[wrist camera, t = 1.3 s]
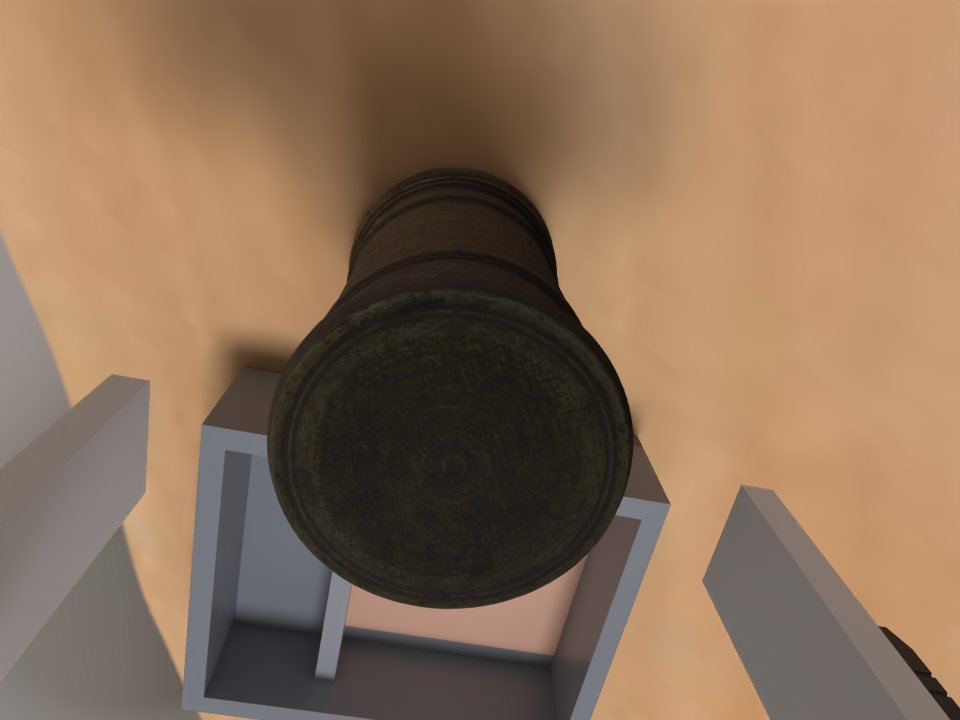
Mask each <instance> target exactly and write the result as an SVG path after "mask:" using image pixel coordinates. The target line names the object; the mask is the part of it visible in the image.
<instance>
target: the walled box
mask: <svg viewBox="0 0 960 720" xmlns="http://www.w3.org/2000/svg"><path fill="white" fill-rule="evenodd" d="M281 374H282V373H276V372H271V371H265V370H260V369H254V368H249V367H244V368H243V369H242V371H241V372H240V373H239V375H238V376H237V377H236V379H235V380H234V381H233V383H232V384H231V386H230V387H229V388H228V390H227V391H226V392H225V394H224V395H223V396H222V398H221V399H220V401H219V402H218V403H217V405H216V406H215V407H214V409H213V410H212V411H211V413H210V414H209V416H208V417H207V418H206V420H205V421H204V422H203V424H202V430H201V444H200V458H199V472H198V486H197V500H196V514H195V528H194V542H193V556H192V570H191V584H190V598H189V612H188V626H187V640H186V654H185V668H184V682H183V696H182V710H189V711H197V712H204V713H212V714H220V715H228V716H236V717H243V718H251V719H259V720H590V719H591V716H592V713H593V711H594V708H595V705H596V703H597V700H598V697H599V695H600V692H601V689H602V687H603V684H604V681H605V679H606V676H607V673H608V671H609V668H610V665H611V663H612V660H613V657H614V655H615V652H616V649H617V647H618V644H619V641H620V639H621V636H622V633H623V631H624V628H625V625H626V623H627V620H628V617H629V614H630V612H631V609H632V606H633V604H634V601H635V598H636V596H637V593H638V590H639V588H640V585H641V582H642V580H643V577H644V574H645V572H646V569H647V566H648V564H649V561H650V558H651V556H652V553H653V550H654V548H655V545H656V542H657V540H658V537H659V534H660V532H661V529H662V526H663V524H664V521H665V518H666V516H667V513H668V510H669V507H670V505H671V504H670V502H669V500H668V498H667V496H666V494H665V492H664V490H663V488H662V486H661V484H660V482H659V480H658V478H657V476H656V474H655V472H654V469H653V467H652V465H651V463H650V461H649V459H648V457H647V455H646V453H645V451H644V449H643V447H642V445H641V443H640V441H639V439H638V438H637V437H633V457H632V465H631V470H630V475H629V480H628V483H627V487H626V490H625V494H624V496H623V499H622V501H621V504H620V506H619V508H618V510H617V512H616V514H615V516H614V518H613V520H612V522H611V524H610V525H609V527H608V529H607V530H606V532H605V533H604V535H603V536H602V537H601V539H600V540H599V541H598V543H597V544H596V545H595V546H594V547H593V548H592V550H591V551H590V552H589V553H588V554H587V555H586V556H585V557H584V558H583V559H582V560H581V561H580V562H578V563H577V564H576V565H575V566H574V567H573V568H571V569H570V570H569V571H568V572H566V573H565V574H563V575H562V576H560V577H559V578H557V579H556V580H554V581H552V582H551V583H549V584H547V585H545V586H543V587H541V588H539V589H537V590H535V591H533V592H531V593H528V594H526V595H523V596H521V597H518V598H515V599H512V600H508V601H505V602H501V603H497V604H492V605H487V606H482V607H475V608H464V609H435V608H424V607H418V606H412V605H407V604H402V603H398V602H395V601H391V600H388V599H385V598H382V597H379V596H377V595H374V594H372V593H369V592H367V591H365V590H363V589H361V588H359V587H357V586H354V585H353V584H351V583H349V582H347V581H346V580H344V579H342V578H341V577H340V576H338V575H337V574H335V573H334V572H333V571H331V570H330V569H329V568H328V567H326V566H325V565H324V564H323V563H322V562H321V561H320V560H318V559H317V558H316V557H315V556H314V555H313V554H312V553H311V552H310V551H309V550H308V549H307V548H306V546H305V545H304V544H303V543H302V541H301V540H300V539H299V538H298V536H297V535H296V533H295V532H294V531H293V529H292V527H291V526H290V524H289V523H288V521H287V519H286V517H285V515H284V513H283V511H282V509H281V507H280V504H279V502H278V499H277V496H276V493H275V490H274V487H273V483H272V480H271V475H270V470H269V464H268V456H267V430H268V420H269V413H270V408H271V404H272V400H273V396H274V393H275V389H276V386H277V383H278V381H279V379H280V377H281Z"/></svg>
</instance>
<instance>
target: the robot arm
mask: <svg viewBox="0 0 960 720" xmlns="http://www.w3.org/2000/svg"><path fill="white" fill-rule="evenodd" d="M149 396H150V381H148V380H143V379H137V378H131V377H125V376H120V375H114V374H112V375H111V376H109V377H108V378H107V379H106V380H105V381H103V382H102V383H101V384H100V385H99V386H98V387H96V388H95V389H94V390H93V391H92V392H90V393H89V394H88V395H87V396H86V397H85V398H83V399H82V400H81V401H80V402H79V403H77V404H76V405H75V406H74V407H73V408H71V409H70V410H69V411H68V412H67V413H66V414H64V415H63V416H62V417H61V418H60V419H59V420H57V421H56V422H55V423H54V424H53V425H51V426H50V427H49V428H48V429H47V430H45V431H44V432H43V433H42V434H41V435H39V436H38V437H37V438H36V439H35V440H34V441H32V442H31V443H30V444H29V445H28V446H27V447H25V448H24V449H23V450H22V451H21V452H19V453H18V454H17V455H16V456H15V457H13V458H12V459H11V460H10V461H9V462H8V463H6V464H5V465H4V466H3V467H2V468H1V469H0V682H1V681H2V680H3V678H4V677H5V676H6V674H7V673H8V672H9V670H10V669H11V668H12V666H13V665H14V664H15V662H16V661H17V660H18V659H19V657H20V656H21V655H22V653H23V652H24V651H25V649H26V648H27V647H28V645H29V644H30V643H31V642H32V640H33V639H34V638H35V636H36V635H37V634H38V632H39V631H40V630H41V628H42V627H43V625H44V624H45V623H46V622H47V621H48V619H49V618H50V616H51V615H52V614H53V613H54V611H55V610H56V609H57V607H58V606H59V605H60V603H61V602H62V601H63V600H64V598H65V597H66V596H67V594H68V593H69V592H70V590H71V589H72V588H73V586H74V585H75V584H76V582H77V581H78V580H79V579H80V577H81V576H82V575H83V573H84V572H85V571H86V569H87V568H88V567H89V565H90V564H91V563H92V561H93V560H94V559H95V558H96V556H97V555H98V554H99V552H100V551H101V550H102V548H103V547H104V546H105V544H106V543H107V542H108V541H109V539H110V538H111V536H112V535H113V534H114V533H115V531H116V530H117V529H118V527H119V526H120V525H121V524H122V522H123V521H124V520H125V518H126V517H127V516H128V514H129V513H130V512H131V510H132V509H133V508H134V506H135V505H136V504H137V503H138V501H139V500H140V499H141V497H142V496H143V495H144V493H145V486H146V464H147V441H148V418H149ZM703 583H704V585H705V587H706V589H707V591H708V594H709V596H710V598H711V600H712V602H713V604H714V606H715V608H716V610H717V612H718V614H719V616H720V618H721V620H722V622H723V624H724V626H725V628H726V630H727V632H728V634H729V636H730V638H731V640H732V642H733V644H734V647H735V649H736V651H737V653H738V655H739V657H740V659H741V661H742V663H743V665H744V667H745V669H746V671H747V673H748V675H749V677H750V679H751V681H752V683H753V685H754V687H755V689H756V691H757V693H758V695H759V697H760V700H761V702H762V704H763V706H764V708H765V710H766V712H767V714H768V716H769V718H770V720H960V708H959V707H958V705H957V704H956V703H955V702H954V700H953V699H952V698H950V697H947V692H946V690H945V689H944V688H943V687H942V685H941V684H940V683H939V682H938V680H937V679H936V678H933V677H932V676H931V674H932V673H931V672H930V671H929V669H928V668H927V667H926V666H925V664H924V663H923V662H922V661H921V659H920V658H919V657H918V656H917V654H916V653H915V652H914V651H913V649H911V648H910V647H909V646H908V645H907V644H905V643H904V642H903V641H902V640H901V639H899V638H898V637H897V636H896V635H895V634H893V633H892V632H891V631H890V630H889V629H888V628H886V627H880V626H877V624H876V623H875V622H874V620H873V619H872V618H871V617H870V615H869V614H868V613H867V611H866V610H865V609H864V608H863V606H862V605H861V604H860V602H859V601H858V600H857V598H856V597H855V596H854V595H853V593H852V592H851V591H850V589H849V588H848V587H847V586H846V584H845V583H844V582H843V580H842V579H841V578H840V576H839V575H838V574H837V573H836V571H835V570H834V569H833V567H832V566H831V565H830V564H829V562H828V561H827V560H826V558H825V557H824V556H823V554H822V553H821V552H820V551H819V549H818V548H817V547H816V545H815V544H814V543H813V542H812V540H811V539H810V538H809V536H808V535H807V534H806V532H805V531H804V530H803V529H802V527H801V526H800V525H799V523H798V522H797V521H796V520H795V518H794V517H793V516H792V514H791V513H790V512H789V510H788V509H787V508H786V507H785V505H784V504H783V503H782V501H781V500H780V499H779V498H778V496H777V495H776V494H775V492H774V491H773V490H769V489H763V488H758V487H752V486H746V485H741V487H740V490H739V492H738V494H737V497H736V499H735V502H734V504H733V507H732V509H731V512H730V514H729V517H728V519H727V522H726V524H725V527H724V529H723V531H722V534H721V536H720V539H719V541H718V544H717V546H716V549H715V551H714V554H713V556H712V559H711V561H710V564H709V566H708V568H707V571H706V573H705V576H704V578H703Z"/></svg>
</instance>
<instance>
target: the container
mask: <svg viewBox="0 0 960 720" xmlns="http://www.w3.org/2000/svg"><path fill="white" fill-rule="evenodd" d="M267 456H268V464H269V470H270V475H271V480H272V483H273V487H274V490H275V493H276V496H277V499H278V502H279V504H280V507H281V509H282V511H283V513H284V515H285V517H286V519H287V521H288V523H289V524H290V526H291V527H292V529H293V531H294V532H295V533H296V535H297V536H298V538H299V539H300V540H301V541H302V543H303V544H304V545H305V546H306V548H307V549H308V550H309V551H310V552H311V553H312V554H313V555H314V556H315V557H316V558H317V559H318V560H320V561H321V562H322V563H323V564H324V565H325V566H326V567H328V568H329V569H330V570H331V571H333V572H334V573H335V574H337V575H338V576H340V577H341V578H342V579H344V580H346V581H347V582H349V583H351V584H353V585H354V586H357V587H359V588H361V589H363V590H365V591H367V592H369V593H372V594H374V595H377V596H379V597H382V598H385V599H388V600H391V601H395V602H398V603H402V604H407V605H412V606H418V607H424V608H435V609H464V608H475V607H482V606H487V605H492V604H497V603H501V602H505V601H508V600H512V599H515V598H518V597H521V596H523V595H526V594H528V593H531V592H533V591H535V590H537V589H539V588H541V587H543V586H545V585H547V584H549V583H551V582H552V581H554V580H556V579H557V578H559V577H560V576H562V575H563V574H565V573H566V572H568V571H569V570H570V569H571V568H573V567H574V566H575V565H576V564H577V563H578V562H580V561H581V560H582V559H583V558H584V557H585V556H586V555H587V554H588V553H589V552H590V551H591V550H592V548H593V547H594V546H595V545H596V544H597V543H598V541H599V540H600V539H601V537H602V536H603V535H604V533H605V532H606V530H607V529H608V527H609V525H610V524H611V522H612V520H613V518H614V516H615V514H616V512H617V510H618V508H619V506H620V504H621V501H622V499H623V496H624V494H625V490H626V487H627V483H628V480H629V475H630V470H631V465H632V457H633V427H632V419H631V414H630V409H629V404H628V401H627V397H626V394H625V391H624V388H623V386H622V384H621V382H620V379H619V377H618V374H617V372H616V370H615V368H614V366H613V365H612V363H611V361H610V360H609V358H608V356H607V355H606V353H605V352H604V351H603V349H602V348H601V347H600V345H599V344H598V343H597V341H596V340H595V339H594V338H593V337H592V336H591V334H590V333H589V332H588V331H587V330H586V329H585V328H584V327H583V326H582V324H581V322H580V320H579V319H578V317H577V315H576V314H575V312H574V310H573V309H572V307H571V306H570V305H569V303H568V302H567V301H566V299H565V298H564V296H563V294H562V292H561V290H560V288H559V284H558V278H557V266H556V258H555V253H554V249H553V245H552V240H551V237H550V234H549V231H548V229H547V227H546V225H545V223H544V221H543V219H542V217H541V215H540V214H539V212H538V211H537V209H536V208H535V207H534V205H533V204H532V203H531V202H530V201H529V200H528V199H527V198H526V197H525V196H524V195H523V194H522V193H521V192H520V191H519V190H517V189H516V188H515V187H513V186H512V185H510V184H509V183H507V182H505V181H504V180H502V179H500V178H497V177H495V176H493V175H490V174H487V173H484V172H481V171H477V170H470V169H463V168H443V169H436V170H431V171H426V172H423V173H420V174H417V175H414V176H412V177H410V178H408V179H406V180H404V181H402V182H400V183H399V184H397V185H396V186H394V187H393V188H392V189H390V190H389V191H387V192H386V193H385V194H384V195H383V196H382V197H381V198H380V199H379V200H378V201H377V202H376V203H375V204H374V205H373V206H372V208H371V209H370V210H369V212H368V213H367V215H366V216H365V218H364V219H363V221H362V223H361V225H360V227H359V229H358V231H357V234H356V237H355V240H354V243H353V247H352V250H351V255H350V260H349V272H348V277H347V284H346V286H345V287H344V289H343V291H342V293H341V295H340V297H339V299H338V300H337V301H336V302H335V304H334V305H333V306H332V308H331V309H330V310H329V312H328V313H327V315H326V316H325V318H324V319H323V320H321V321H320V322H319V323H318V324H317V325H316V326H315V327H314V328H313V329H312V331H311V332H310V333H309V334H308V335H307V336H306V337H305V339H304V340H303V341H302V342H301V344H300V345H299V346H298V348H297V349H296V350H295V352H294V353H293V355H292V356H291V358H290V360H289V361H288V363H287V365H286V366H285V368H284V370H283V372H282V374H281V377H280V379H279V381H278V383H277V386H276V389H275V393H274V396H273V400H272V404H271V408H270V413H269V420H268V430H267Z"/></svg>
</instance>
